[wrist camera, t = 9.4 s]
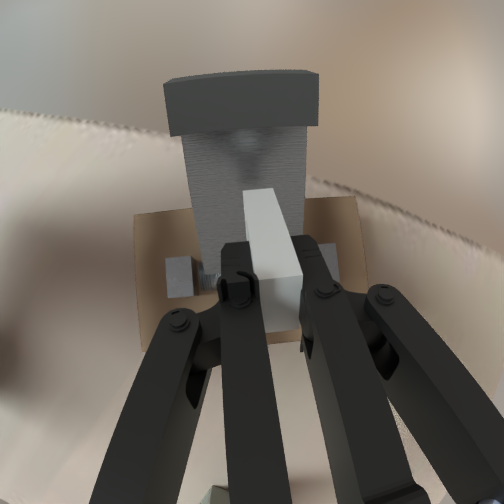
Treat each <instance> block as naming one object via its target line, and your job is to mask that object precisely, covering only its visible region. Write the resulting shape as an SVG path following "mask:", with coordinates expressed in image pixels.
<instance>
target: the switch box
mask: <svg viewBox="0 0 504 504" xmlns="http://www.w3.org/2000/svg"><path fill="white" fill-rule="evenodd" d="M307 234H308V235H310V236H311V237H312V238H313V239H314V240H316V242H317V244H318V246H319V249H320V251H321V253H322V257H323V258H324V260H325V262H326V264H327V267H328V269H329V271H330V274H331V276H332V278H333V280H335V281H337V282H338V283H340V284H341V286H342V287H343V288H344V290H347V291H350V292H356V293H366V294H367V292H368V290H369V288H368V278H367V270H366V262H365V254H364V246H363V239H362V233H361V226H360V220H359V214H358V208H357V203H356V197H355V196H348V197H327V198H309V199H305V200H304V219H303V235H307ZM134 254H135V276H136V292H137V305H138V316H139V326H140V336H141V344H142V352H147V349H148V347H149V345H150V342H151V340H152V338H153V336H154V333H155V331H156V329H157V327H158V324H159V322H160V320H161V319H162V317H163V316H164V315H165V314H166V313H168V312H169V311H171V310H174V309H176V308H187V309H191V310H193V311H194V312H195V313H199V312H202V311H205V310H207V309H209V308H211V307H213V306H214V305H215V304H216V303H217V302H218V301H219V297H218V292H217V291H205V292H202V291H201V287H200V282H199V261H202V257H201V252H200V246H199V241H198V236H197V230H196V225H195V219H194V214H193V208H189V209H180V210H171V211H162V212H154V213H146V214H138V215H134ZM265 334H266V340H267V344H276V343H284V342H292V341H300V340H301V335H302V328H301V325H300V321H299V329H295V330H287V331H279V332H270V333H265Z"/></svg>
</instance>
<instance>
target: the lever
mask: <svg viewBox="0 0 504 504" xmlns="http://www.w3.org/2000/svg"><path fill="white" fill-rule="evenodd" d="M163 87H164V95H165V102H166V109H167V117H168V123H169V130H170V137H173V136H180V135H181V138H182V145H183V152H184V159H185V165H186V172H187V178H188V184H189V190H190V196H191V202H192V208H193V214H194V219H195V225H196V230H197V236H198V241H199V246H200V252H201V257H202V261H199V282H200V287H201V291H202V292H205V291H217V286H216V283H217V280H218V278H219V277H220V276H221V250H222V248H223V246H224V245H225V243H233V242H243V241H247V238H246V226H245V214H244V202H243V191H244V190H255V189H267V188H273V190H274V193H275V195H276V198H277V201H278V204H279V207H280V209H281V212H282V215H283V218H284V221H285V223H286V226H287V229H288V232H289V235H290V236H297V235H303V219H304V200H305V177H306V146H307V143H306V142H307V126H318V106H319V102H318V101H319V74H316V73H313V72H310V71H307V70H254V71H237V72H223V73H213V74H204V75H195V76H188V77H181V78H174V79H172V80H170V81H168V82H166V83H164V84H163Z"/></svg>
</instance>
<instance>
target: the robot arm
mask: <svg viewBox="0 0 504 504" xmlns="http://www.w3.org/2000/svg"><path fill="white" fill-rule="evenodd" d="M243 202H244V214H245V226H246V238H247V241H243V242H233V243H225V245H224V246H223V248H222V250H221V276H220V277H219V278H218V280H217V283H216V286H217V292H218V297H219V301H218V302H217V303H216V304H215V305H214V306H213V307H211V308H209V309H207V310H205V311H202V312H199V313H195V312H194V311H193V310H191V309H187V308H176V309H174V310H171V311H169V312H168V313H166V314H165V315H164V316H163V317H162V319H161V320H160V322H159V324H158V327H157V329H156V331H155V333H154V336H153V338H152V340H151V342H150V345H149V347H148V349H147V352H146V354H145V356H144V359H143V361H142V363H141V366H140V368H139V370H138V373H137V375H136V378H135V380H134V382H133V385H132V387H131V390H130V392H129V395H128V397H127V400H126V402H125V405H124V407H123V410H122V412H121V415H120V417H119V420H118V423H117V425H116V428H115V430H114V433H113V436H112V438H111V441H110V444H109V446H108V449H107V452H106V455H105V458H104V460H103V463H102V466H101V469H100V472H99V475H98V478H97V480H96V483H95V486H94V489H93V492H92V496H91V499H90V502H89V504H176V503H177V500H178V496H179V492H180V488H181V484H182V480H183V476H184V473H185V469H186V465H187V461H188V457H189V454H190V450H191V446H192V442H193V438H194V435H195V431H196V427H197V423H198V420H199V416H200V412H201V408H202V405H203V401H204V397H205V394H206V390H207V386H208V382H209V379H210V375H211V371H212V368H213V367H216V366H218V365H221V366H222V389H223V410H224V428H225V444H226V459H227V473H228V486H229V498H230V504H292V499H291V492H290V486H289V480H288V473H287V467H286V461H285V454H284V448H283V442H282V435H281V429H280V422H279V416H278V410H277V403H276V397H275V391H274V384H273V378H272V372H271V365H270V359H269V353H268V346H267V340H266V334H265V333H270V332H279V331H287V330H295V329H299V321H300V325H301V328H302V335H301V345H300V352H303V349H304V353H305V357H306V362H307V366H308V370H309V374H310V378H311V383H312V387H313V391H314V396H315V400H316V404H317V409H318V413H319V418H320V422H321V427H322V431H323V436H324V441H325V445H326V450H327V454H328V459H329V464H330V469H331V474H332V478H333V483H334V488H335V493H336V498H337V503H338V504H431V502H430V499H429V497H428V494H427V492H426V491H425V490H424V488H423V487H421V486H419V485H418V484H416V482H415V481H414V479H413V477H412V474H411V470H410V467H409V463H408V460H407V457H406V453H405V450H404V447H403V444H402V441H401V437H400V434H399V431H398V428H397V425H396V422H395V419H394V416H393V413H392V410H391V407H390V405H389V402H388V399H389V400H390V402H391V403H392V405H393V406H394V408H395V410H396V411H397V413H398V414H399V416H400V417H401V419H402V420H403V422H404V423H405V425H406V426H407V428H408V429H409V431H410V432H411V434H412V436H413V437H414V439H415V440H416V442H417V443H418V445H419V446H420V448H421V450H422V451H423V453H424V454H425V456H426V458H427V459H428V461H429V462H430V464H431V465H432V467H433V469H434V470H435V472H436V473H437V475H438V477H439V478H440V480H441V482H442V483H443V485H444V486H445V488H446V490H447V491H448V493H449V494H450V496H451V497H452V499H453V500H454V501H455V503H456V504H504V418H503V417H502V416H501V414H500V413H499V411H498V410H497V409H496V407H495V406H494V404H493V403H492V402H491V400H490V399H489V398H488V396H487V395H486V394H485V392H484V391H483V390H482V388H481V387H480V386H479V384H478V383H477V382H476V380H475V379H474V378H473V377H472V375H471V374H470V373H469V372H468V370H467V369H466V368H465V366H464V365H463V364H462V363H461V362H460V360H459V359H458V358H457V357H456V355H455V354H454V353H453V352H452V351H451V349H450V348H449V347H448V346H447V345H446V343H445V342H444V341H443V340H442V339H441V337H440V336H439V335H438V334H437V333H436V332H435V331H434V329H433V328H432V327H431V326H430V325H429V324H428V322H427V321H426V320H425V319H424V318H423V317H422V316H421V315H420V313H419V312H418V311H417V310H416V309H415V308H414V307H413V306H412V305H411V304H410V302H409V301H408V300H407V299H406V298H405V297H404V296H403V295H402V294H401V293H400V292H399V291H398V290H397V289H396V288H394V287H392V286H390V285H387V284H377V285H374V286H372V287H371V288H369V290H368V292H367V294H366V293H356V292H350V291H347V290H344V288H343V287H342V286H341V284H340V283H338V282H337V281H335V280H333V278H332V276H331V274H330V271H329V269H328V267H327V264H326V262H325V260H324V258H323V257H322V253H321V251H320V249H319V246H318V244H317V242H316V240H314V239H313V238H312V237H311V236H310V235H308V234H307V235H297V236H290V235H289V232H288V229H287V226H286V223H285V221H284V218H283V215H282V212H281V209H280V207H279V204H278V201H277V198H276V195H275V193H274V190H273V188H267V189H255V190H244V191H243ZM387 397H388V399H387Z"/></svg>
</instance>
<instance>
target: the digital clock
mask: <svg viewBox="0 0 504 504" xmlns="http://www.w3.org/2000/svg"><path fill="white" fill-rule="evenodd" d="M200 504H230V498H229V491H227V490H224V489H221V488H219V487H216V486H212V487H211V488H210V490H209V491H208V493H207V494H206V496H205V497H204V499H203V500H202V501H201V503H200Z"/></svg>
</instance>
